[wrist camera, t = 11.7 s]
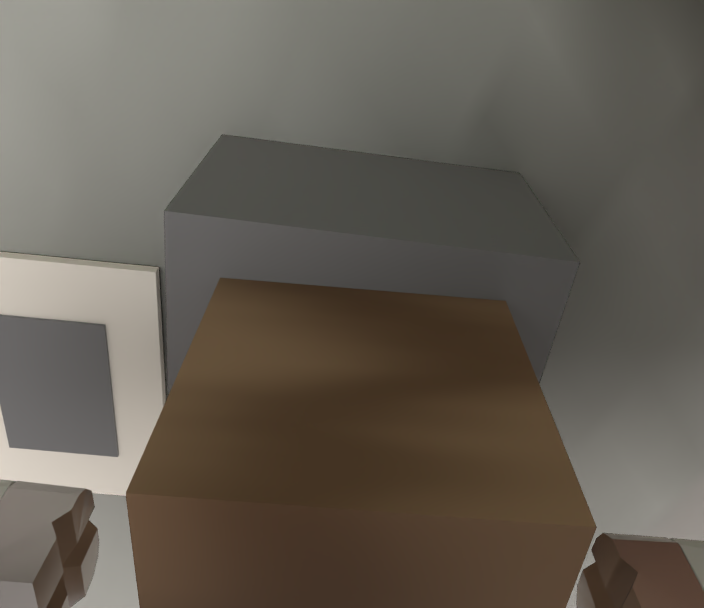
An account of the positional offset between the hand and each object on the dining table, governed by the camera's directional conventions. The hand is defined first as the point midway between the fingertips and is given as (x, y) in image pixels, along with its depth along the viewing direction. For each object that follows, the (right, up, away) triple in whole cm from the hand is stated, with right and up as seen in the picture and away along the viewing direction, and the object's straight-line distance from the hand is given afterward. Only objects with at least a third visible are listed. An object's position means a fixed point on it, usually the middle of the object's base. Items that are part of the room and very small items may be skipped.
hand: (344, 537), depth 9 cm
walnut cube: (0, +2, +3) cm, 3 cm away
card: (-10, +1, +9) cm, 13 cm away
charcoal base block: (0, +4, +7) cm, 8 cm away
